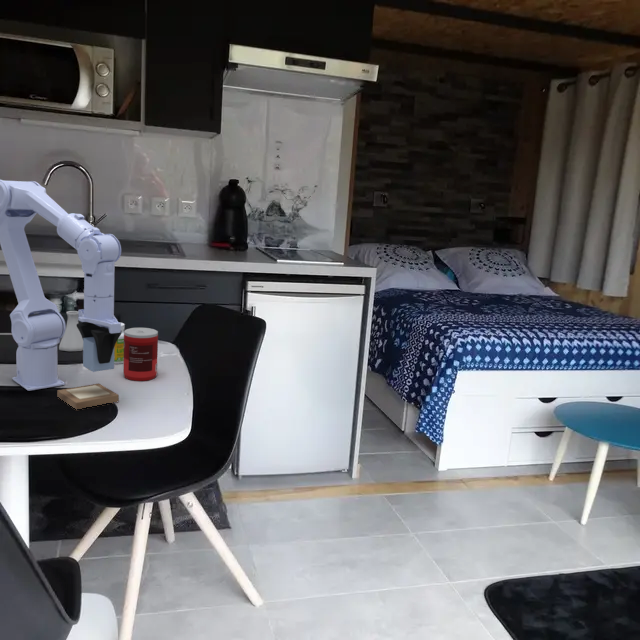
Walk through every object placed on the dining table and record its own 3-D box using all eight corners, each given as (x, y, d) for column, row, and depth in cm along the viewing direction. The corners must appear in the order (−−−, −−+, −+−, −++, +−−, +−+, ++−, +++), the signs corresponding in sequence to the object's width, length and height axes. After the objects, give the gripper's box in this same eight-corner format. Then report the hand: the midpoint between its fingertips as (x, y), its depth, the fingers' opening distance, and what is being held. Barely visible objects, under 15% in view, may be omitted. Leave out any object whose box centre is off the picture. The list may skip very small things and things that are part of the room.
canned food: (143, 369, 155) (144, 325, 153) (163, 377, 150) (165, 332, 148) (116, 375, 149) (116, 329, 147) (136, 383, 145) (137, 336, 142)
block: (83, 366, 131) (83, 338, 129) (103, 363, 134) (104, 335, 133) (93, 371, 128) (93, 343, 126) (114, 368, 131) (114, 340, 129)
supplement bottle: (117, 365, 157) (118, 327, 155) (99, 362, 159) (100, 324, 157) (131, 360, 162) (131, 323, 160) (113, 357, 164) (114, 320, 162)
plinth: (57, 397, 132) (57, 389, 131) (98, 390, 138) (98, 382, 138) (76, 410, 126) (76, 401, 125) (118, 402, 132) (118, 394, 132)
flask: (62, 344, 171) (62, 308, 169) (90, 346, 172) (90, 310, 170) (54, 351, 164) (54, 314, 162) (83, 353, 165) (83, 315, 163)
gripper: (64, 289, 130) (64, 353, 132) (96, 303, 120) (96, 371, 123) (96, 287, 135) (96, 349, 137) (131, 300, 125) (129, 366, 128)
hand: (98, 359), depth 130 cm, fingers closed on block, 4 cm apart
